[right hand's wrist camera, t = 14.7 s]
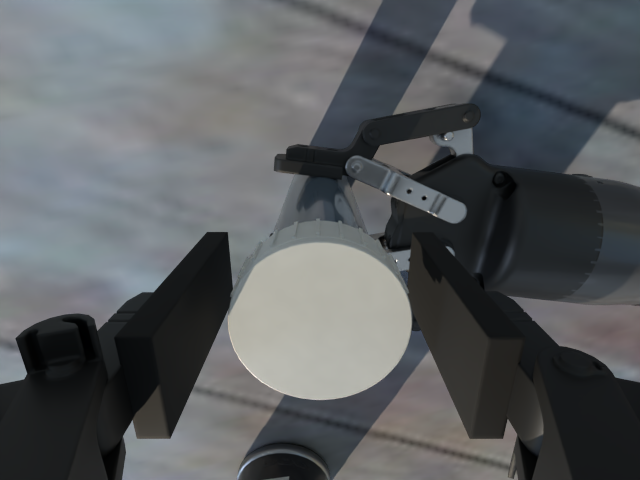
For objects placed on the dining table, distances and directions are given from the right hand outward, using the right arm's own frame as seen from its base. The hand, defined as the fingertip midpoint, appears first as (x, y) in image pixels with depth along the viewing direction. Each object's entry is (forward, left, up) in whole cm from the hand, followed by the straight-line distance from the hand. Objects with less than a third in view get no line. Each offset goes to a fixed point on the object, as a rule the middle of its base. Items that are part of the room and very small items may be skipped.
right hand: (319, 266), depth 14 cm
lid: (0, 0, +4) cm, 4 cm away
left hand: (-1, -3, -8) cm, 8 cm away
